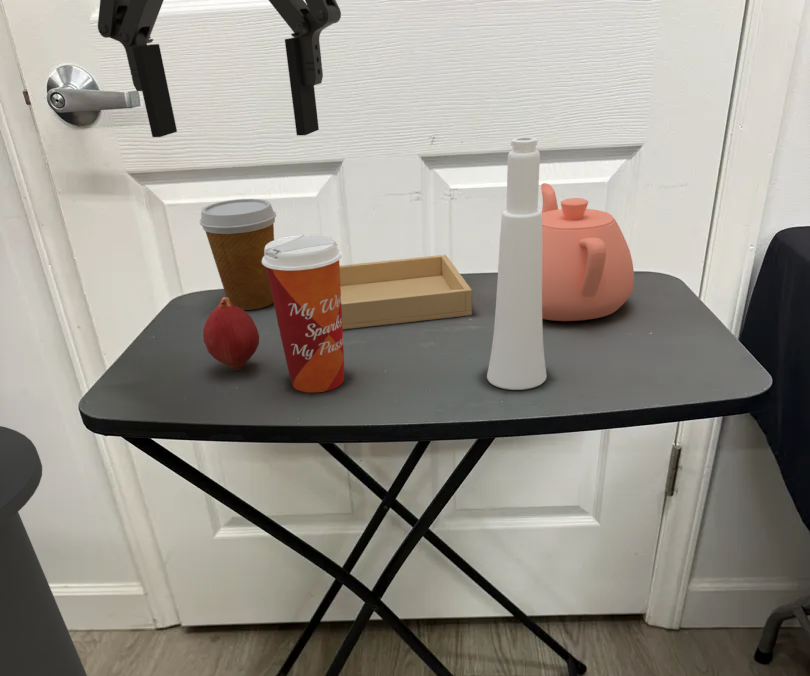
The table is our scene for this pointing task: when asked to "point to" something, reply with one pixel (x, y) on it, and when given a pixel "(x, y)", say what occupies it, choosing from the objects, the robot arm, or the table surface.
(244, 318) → the onion
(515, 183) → the cosmetic bottle
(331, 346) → the paper cup
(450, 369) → the table surface
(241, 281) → the disposable coffee cup
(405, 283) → the tray
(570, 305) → the teapot
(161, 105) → the robot arm
